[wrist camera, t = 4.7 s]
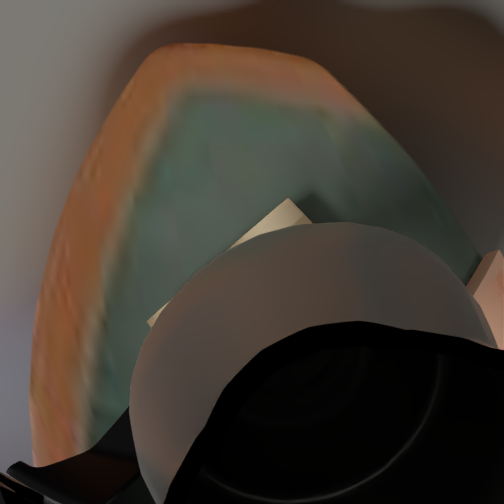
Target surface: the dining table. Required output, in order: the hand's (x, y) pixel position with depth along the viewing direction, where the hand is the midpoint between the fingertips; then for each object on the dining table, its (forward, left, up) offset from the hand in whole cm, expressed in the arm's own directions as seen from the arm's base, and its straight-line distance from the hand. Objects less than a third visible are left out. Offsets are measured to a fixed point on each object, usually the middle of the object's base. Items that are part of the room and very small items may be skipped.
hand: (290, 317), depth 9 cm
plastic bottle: (-1, -1, -10) cm, 10 cm away
